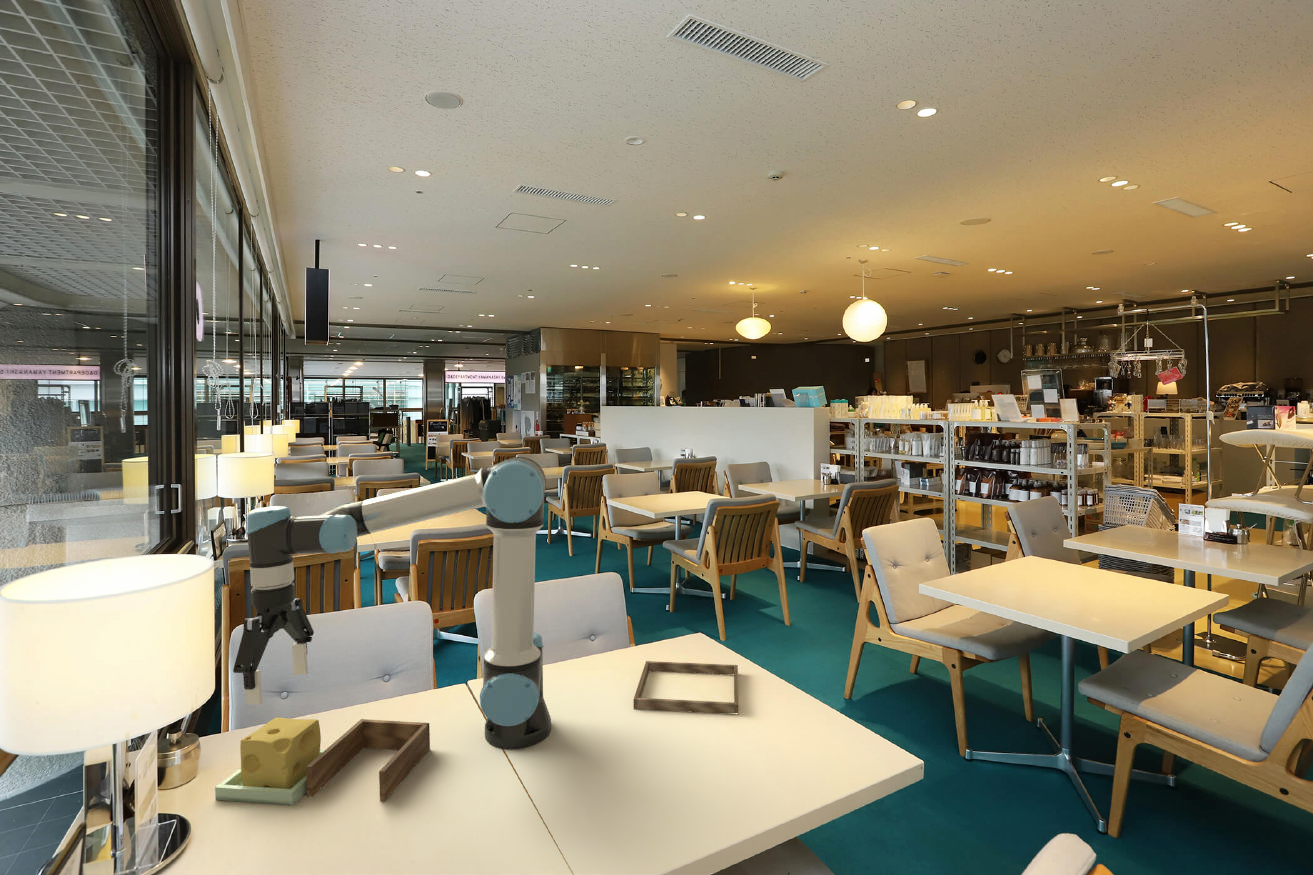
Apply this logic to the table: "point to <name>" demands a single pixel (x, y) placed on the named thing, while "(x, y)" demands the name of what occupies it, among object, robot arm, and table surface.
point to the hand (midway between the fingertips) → (278, 688)
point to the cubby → (378, 735)
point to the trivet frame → (686, 704)
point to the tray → (259, 791)
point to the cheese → (279, 752)
